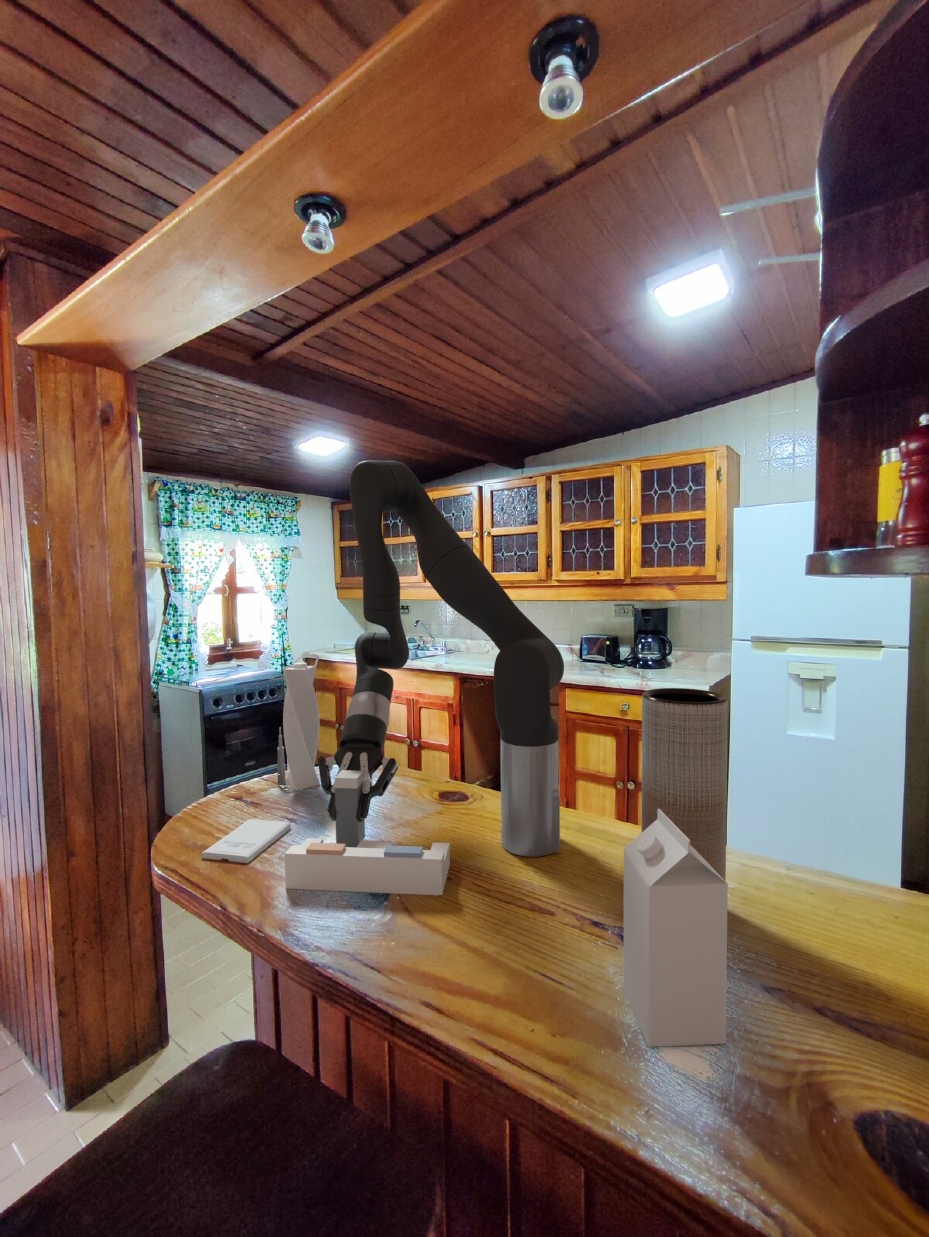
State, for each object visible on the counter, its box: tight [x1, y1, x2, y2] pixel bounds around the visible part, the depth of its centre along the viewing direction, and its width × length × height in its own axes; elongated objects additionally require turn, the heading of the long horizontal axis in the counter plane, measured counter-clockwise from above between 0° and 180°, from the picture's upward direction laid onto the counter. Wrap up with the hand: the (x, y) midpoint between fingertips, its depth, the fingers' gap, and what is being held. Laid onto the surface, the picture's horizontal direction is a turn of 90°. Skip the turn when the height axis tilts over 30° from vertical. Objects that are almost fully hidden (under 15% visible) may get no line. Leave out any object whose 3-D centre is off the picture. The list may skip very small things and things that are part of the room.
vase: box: [641, 687, 729, 882], centre depth 69 cm, size 10×10×28 cm
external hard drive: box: [201, 818, 292, 864], centre depth 91 cm, size 2×8×12 cm
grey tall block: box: [334, 770, 366, 848], centre depth 88 cm, size 4×4×11 cm
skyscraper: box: [276, 654, 321, 793], centre depth 117 cm, size 8×8×28 cm
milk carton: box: [623, 809, 729, 1048], centre depth 52 cm, size 7×7×19 cm
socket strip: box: [284, 837, 451, 897], centre depth 79 cm, size 22×8×6 cm, turn 84°
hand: (346, 819), depth 86 cm, fingers closed on grey tall block, 3 cm apart
